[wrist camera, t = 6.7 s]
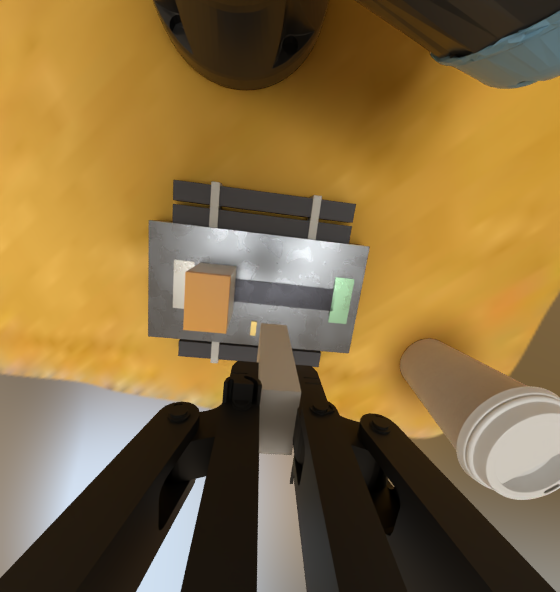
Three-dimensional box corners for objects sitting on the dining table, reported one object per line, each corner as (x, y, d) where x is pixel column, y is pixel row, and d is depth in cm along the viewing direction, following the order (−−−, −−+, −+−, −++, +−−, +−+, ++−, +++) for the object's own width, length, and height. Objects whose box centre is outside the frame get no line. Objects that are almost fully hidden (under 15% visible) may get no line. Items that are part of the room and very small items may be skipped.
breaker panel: (158, 220, 29) (148, 220, 27) (361, 244, 31) (370, 246, 28) (156, 327, 32) (147, 336, 29) (342, 344, 34) (349, 354, 31)
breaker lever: (200, 262, 28) (185, 272, 22) (236, 266, 28) (230, 276, 23) (198, 310, 29) (183, 329, 24) (232, 313, 29) (226, 333, 24)
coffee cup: (391, 401, 37) (475, 519, 22) (384, 335, 34) (474, 418, 20) (462, 387, 37) (592, 494, 22) (460, 319, 34) (606, 391, 20)
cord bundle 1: (179, 179, 28) (172, 176, 26) (350, 202, 30) (357, 200, 28) (177, 225, 29) (171, 225, 27) (343, 245, 31) (348, 247, 29)
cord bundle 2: (183, 331, 32) (178, 338, 30) (318, 343, 34) (321, 350, 32) (182, 352, 33) (177, 360, 31) (315, 362, 34) (318, 371, 33)
